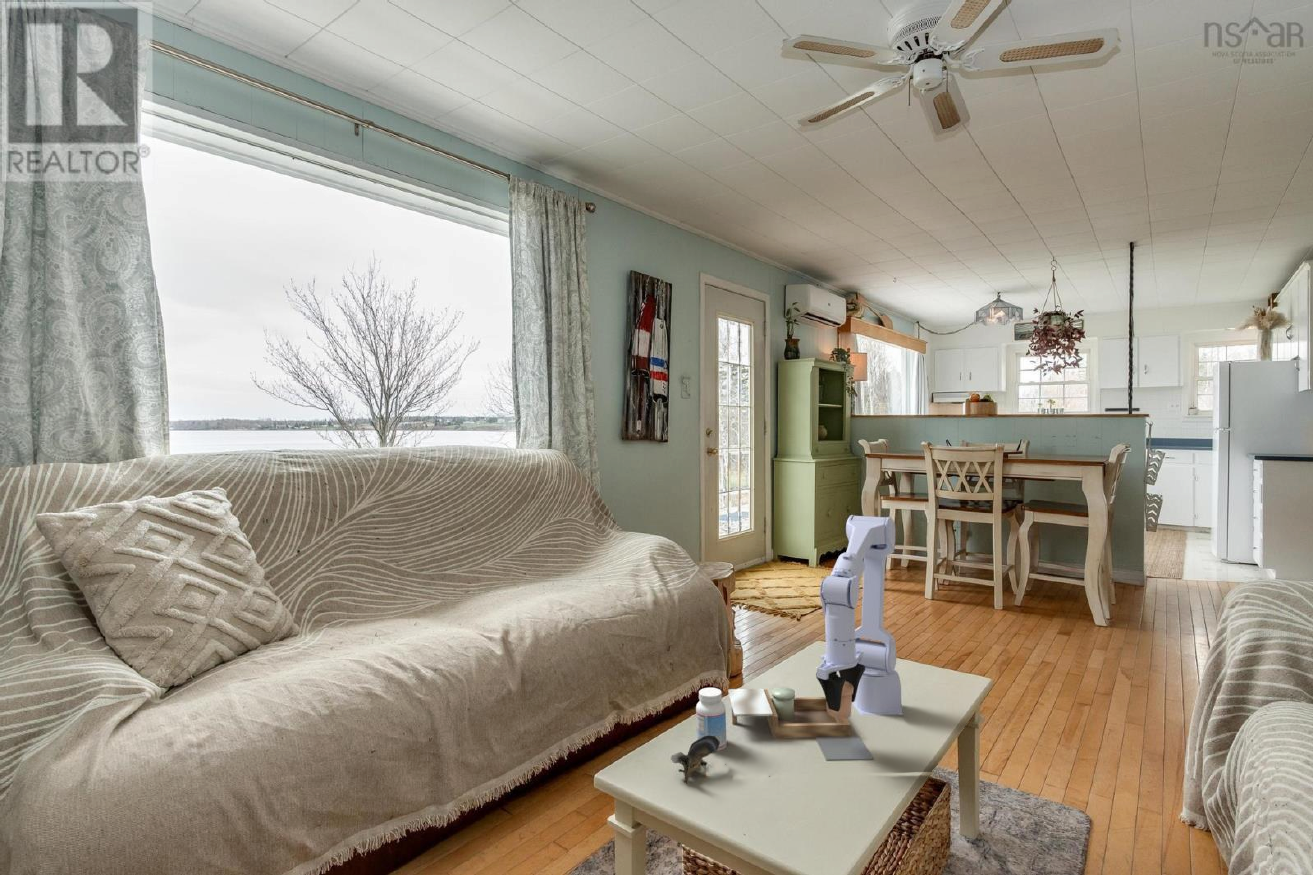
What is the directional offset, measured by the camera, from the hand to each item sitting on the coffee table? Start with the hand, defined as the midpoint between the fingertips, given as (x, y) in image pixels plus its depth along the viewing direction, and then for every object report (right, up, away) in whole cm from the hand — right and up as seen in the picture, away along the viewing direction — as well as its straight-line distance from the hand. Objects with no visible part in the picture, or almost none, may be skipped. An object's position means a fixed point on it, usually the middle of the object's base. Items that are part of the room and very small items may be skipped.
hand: (841, 705), depth 128 cm
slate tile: (0, -9, 0) cm, 9 cm away
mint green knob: (-9, -9, +15) cm, 19 cm away
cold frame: (-9, -9, +12) cm, 17 cm away
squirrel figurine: (-29, -10, -7) cm, 32 cm away
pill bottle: (-26, -10, +3) cm, 28 cm away
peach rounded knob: (0, -2, +1) cm, 2 cm away
